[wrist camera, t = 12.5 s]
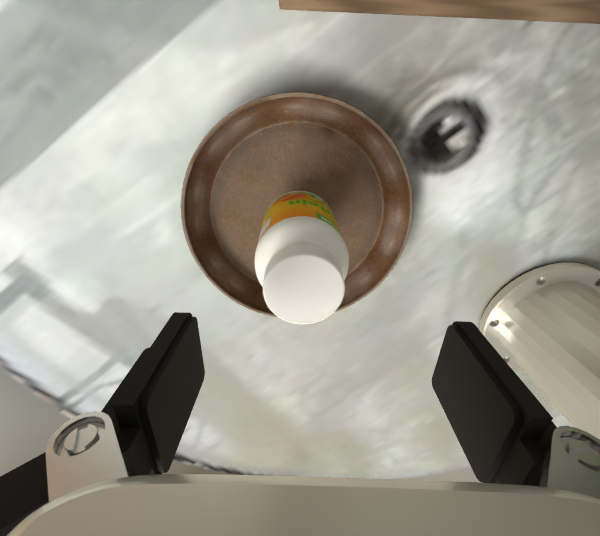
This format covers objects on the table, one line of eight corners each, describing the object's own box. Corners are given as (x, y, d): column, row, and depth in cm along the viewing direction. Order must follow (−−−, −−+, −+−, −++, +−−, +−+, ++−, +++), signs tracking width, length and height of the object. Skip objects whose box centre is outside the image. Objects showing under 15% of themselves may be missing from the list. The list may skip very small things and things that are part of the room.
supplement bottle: (345, 204, 22) (380, 261, 14) (318, 265, 25) (333, 347, 16) (277, 178, 21) (268, 222, 13) (254, 244, 24) (234, 319, 15)
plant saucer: (316, 33, 20) (320, 20, 17) (438, 227, 27) (454, 240, 24) (147, 199, 25) (130, 209, 22) (285, 329, 31) (284, 350, 29)
